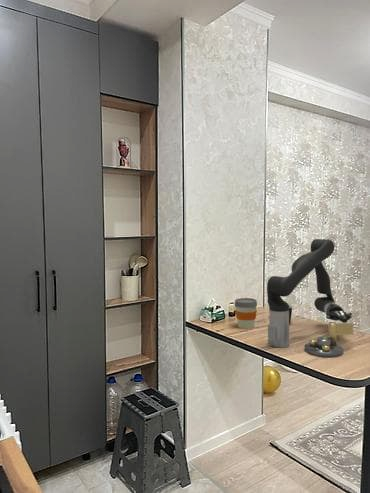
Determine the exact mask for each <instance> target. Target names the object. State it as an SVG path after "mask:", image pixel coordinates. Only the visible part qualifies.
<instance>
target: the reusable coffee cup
mask: <svg viewBox="0 0 370 493" xmlns="http://www.w3.org/2000/svg"><path fill="white" fill-rule="evenodd" d="M257 306H258V302H257V299H255V298H250V297H249V298H247V297H242V298H236V299H234V307H235V318H236V319H237V325H238V328H240V329H245V330H247V329H249V330H250V329H253V328H255V322H256V321H255V320H256V319H257V313H258V312H257V311H258V310H257Z"/></svg>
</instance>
